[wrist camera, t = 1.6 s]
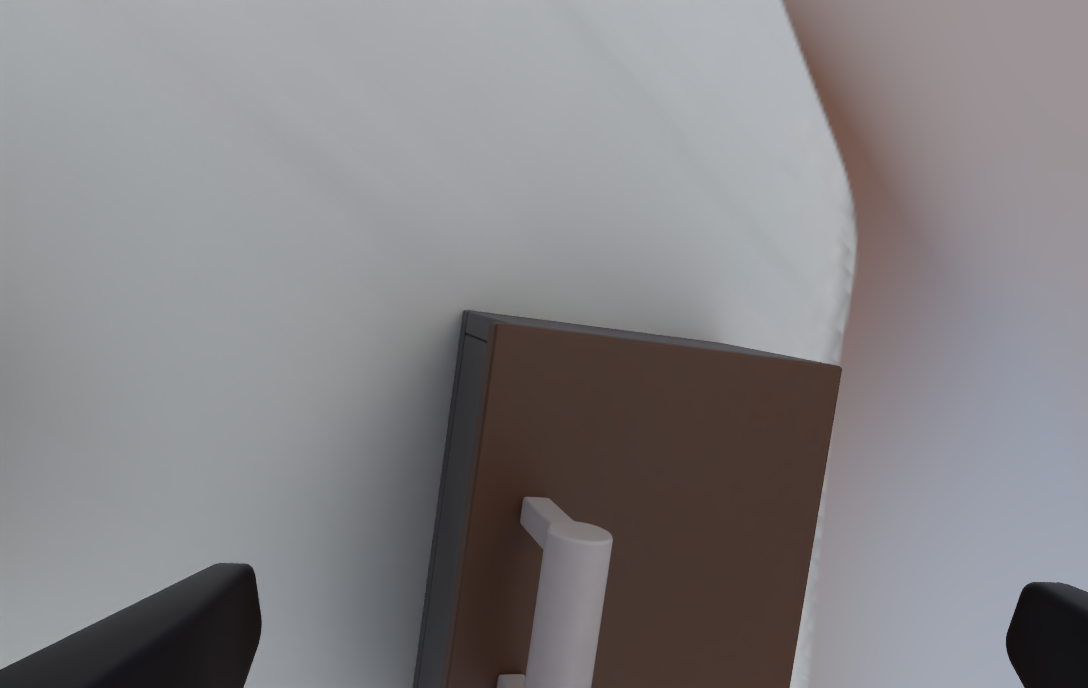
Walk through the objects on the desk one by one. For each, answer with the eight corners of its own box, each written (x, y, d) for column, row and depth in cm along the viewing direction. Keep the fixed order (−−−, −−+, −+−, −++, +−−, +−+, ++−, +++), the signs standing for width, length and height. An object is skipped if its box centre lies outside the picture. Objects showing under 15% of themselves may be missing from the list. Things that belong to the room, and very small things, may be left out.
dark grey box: (408, 716, 26) (441, 838, 20) (462, 309, 25) (512, 323, 19) (665, 706, 29) (753, 810, 23) (721, 343, 28) (826, 363, 22)
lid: (418, 842, 20) (452, 995, 16) (489, 321, 19) (545, 338, 15) (754, 811, 23) (855, 931, 19) (827, 363, 22) (950, 387, 18)
